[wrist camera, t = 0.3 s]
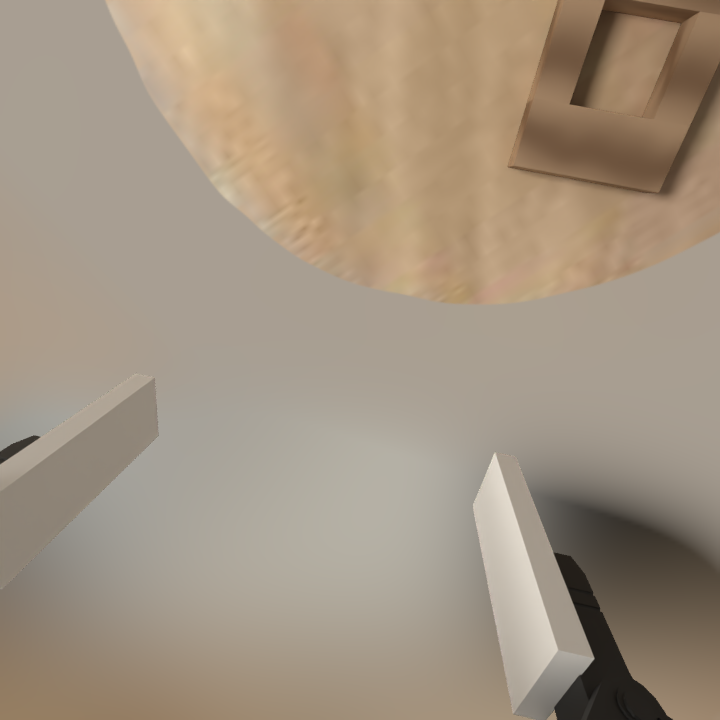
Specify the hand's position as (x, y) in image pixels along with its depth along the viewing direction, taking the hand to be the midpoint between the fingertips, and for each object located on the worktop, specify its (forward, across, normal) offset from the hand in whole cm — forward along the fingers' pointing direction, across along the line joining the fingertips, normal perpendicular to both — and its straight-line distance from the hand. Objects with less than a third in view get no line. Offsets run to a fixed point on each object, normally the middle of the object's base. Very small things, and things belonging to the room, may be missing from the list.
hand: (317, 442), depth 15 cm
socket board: (+27, +15, +20) cm, 37 cm away
